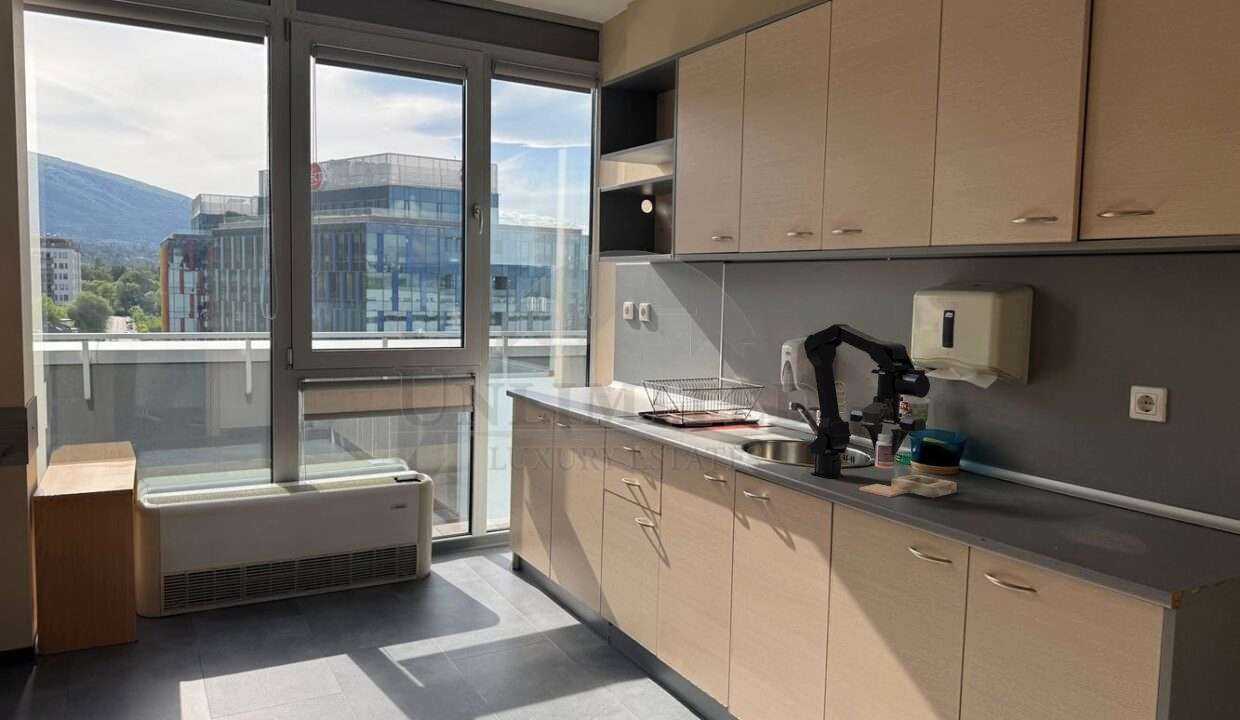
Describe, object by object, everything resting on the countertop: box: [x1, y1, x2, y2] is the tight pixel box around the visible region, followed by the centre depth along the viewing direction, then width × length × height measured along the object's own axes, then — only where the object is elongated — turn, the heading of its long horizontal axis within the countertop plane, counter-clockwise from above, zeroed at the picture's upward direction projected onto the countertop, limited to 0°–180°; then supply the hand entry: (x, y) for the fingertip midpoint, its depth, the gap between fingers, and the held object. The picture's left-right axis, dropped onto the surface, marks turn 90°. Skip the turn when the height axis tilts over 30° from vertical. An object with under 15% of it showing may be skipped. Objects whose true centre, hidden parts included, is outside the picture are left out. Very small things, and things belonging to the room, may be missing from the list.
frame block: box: [890, 473, 957, 498], centre depth 219 cm, size 12×11×2 cm
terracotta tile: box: [859, 483, 909, 498], centre depth 216 cm, size 9×8×1 cm
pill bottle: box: [874, 432, 896, 469], centre depth 215 cm, size 5×5×8 cm
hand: (885, 453), depth 216 cm, fingers closed on pill bottle, 5 cm apart
